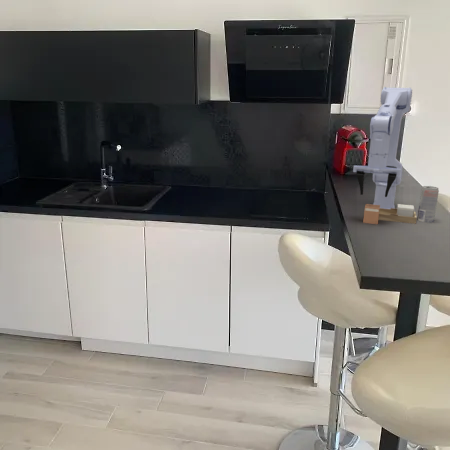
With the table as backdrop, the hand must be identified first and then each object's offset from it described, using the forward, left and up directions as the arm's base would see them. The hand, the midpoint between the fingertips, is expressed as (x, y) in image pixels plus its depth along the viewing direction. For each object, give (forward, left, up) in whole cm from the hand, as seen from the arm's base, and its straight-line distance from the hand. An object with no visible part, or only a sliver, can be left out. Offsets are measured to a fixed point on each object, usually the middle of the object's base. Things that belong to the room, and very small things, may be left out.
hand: (373, 195), depth 151 cm
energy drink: (-10, +18, -10) cm, 22 cm away
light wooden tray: (-8, +7, -10) cm, 14 cm away
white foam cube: (-8, +11, -9) cm, 16 cm away
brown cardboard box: (0, 0, -10) cm, 10 cm away
